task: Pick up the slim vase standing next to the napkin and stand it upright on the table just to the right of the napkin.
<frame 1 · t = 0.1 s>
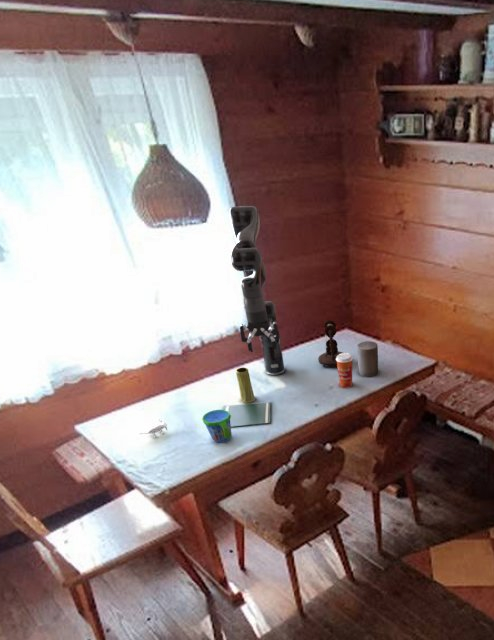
hand: (263, 350, 197), 29 cm above the table, tool pointing down, fingers open, 8 cm apart
grey animal figurine: (156, 436, 207), on the table
dark brown sculpture: (333, 362, 257), on the table
pillar candle: (368, 372, 248), on the table
vase: (248, 400, 229), on the table
paper cup: (346, 385, 238), on the table
snack cup: (222, 438, 205), on the table
napkin: (246, 415, 218), on the table
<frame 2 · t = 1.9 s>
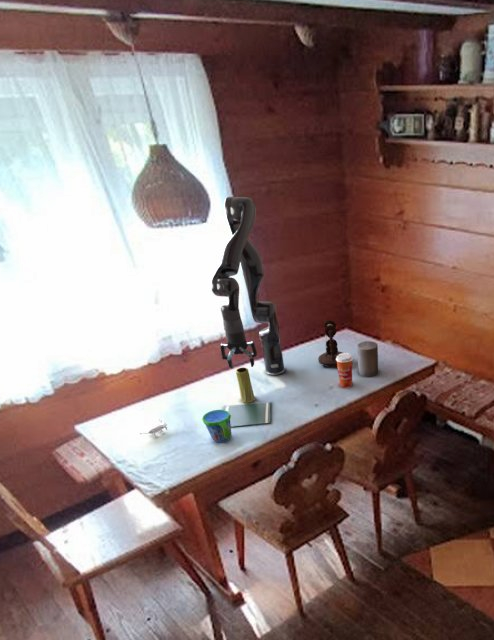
hand: (242, 367, 218), 16 cm above the table, tool pointing down, fingers open, 8 cm apart
nothing on the table moved.
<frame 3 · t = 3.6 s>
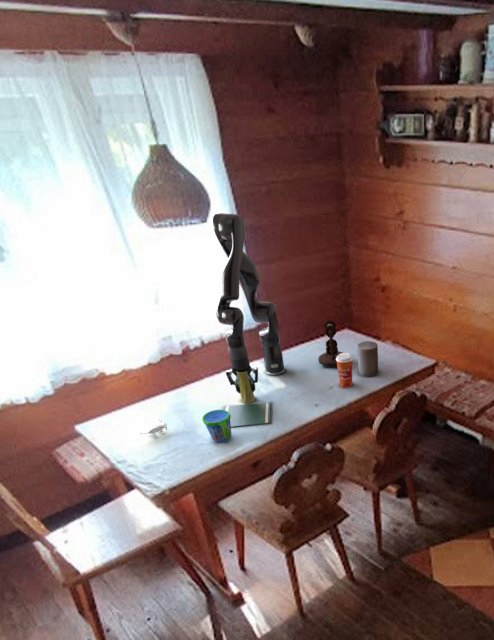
hand: (246, 391, 226), 4 cm above the table, tool pointing down, fingers closed on vase, 5 cm apart
vase: (248, 400, 229), on the table, touching gripper
everything else where it was.
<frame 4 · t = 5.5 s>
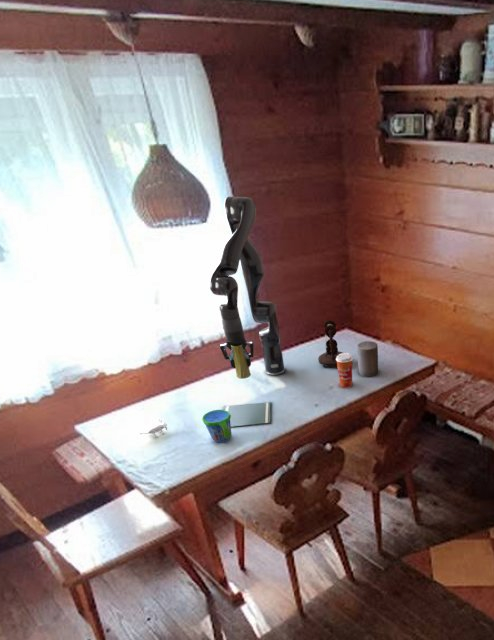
hand: (241, 366, 219), 16 cm above the table, tool pointing down, fingers closed on vase, 5 cm apart
vase: (243, 376, 221), point 11 cm above the table, touching gripper
everything else where it was.
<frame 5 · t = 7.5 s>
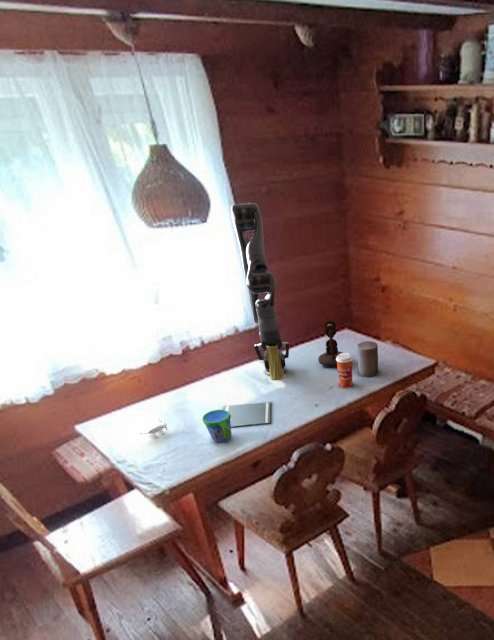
hand: (275, 368, 209), 19 cm above the table, tool pointing down, fingers closed on vase, 5 cm apart
vase: (277, 377, 212), point 15 cm above the table, touching gripper
everything else where it was.
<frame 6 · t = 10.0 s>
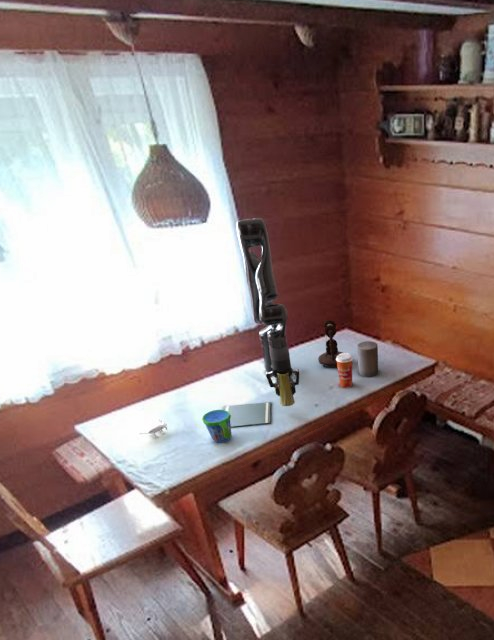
hand: (286, 394, 215), 8 cm above the table, tool pointing down, fingers closed on vase, 5 cm apart
vase: (287, 403, 218), point 4 cm above the table, touching gripper
everything else where it was.
when the fingers open (4 cm above the table, at t = 11.6 s): vase stays where it is, on the table.
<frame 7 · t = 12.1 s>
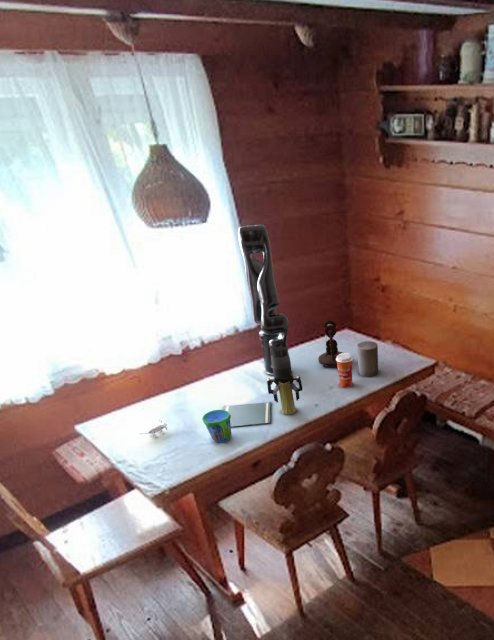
hand: (287, 400, 217), 5 cm above the table, tool pointing down, fingers open, 8 cm apart
vase: (289, 411, 220), on the table
everything else where it was.
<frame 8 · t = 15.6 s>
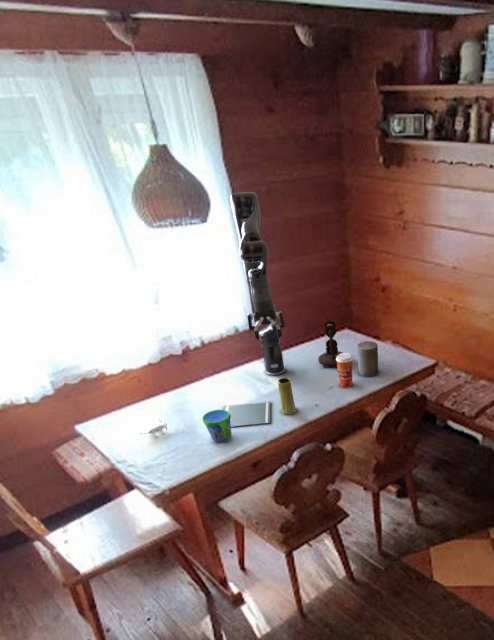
hand: (269, 338, 210), 28 cm above the table, tool pointing down, fingers open, 8 cm apart
nothing on the table moved.
at the end: vase inside the target area on the table beside the napkin (0.8 cm from its centre), on the table; vase tilted 0°; the gripper is holding nothing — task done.
